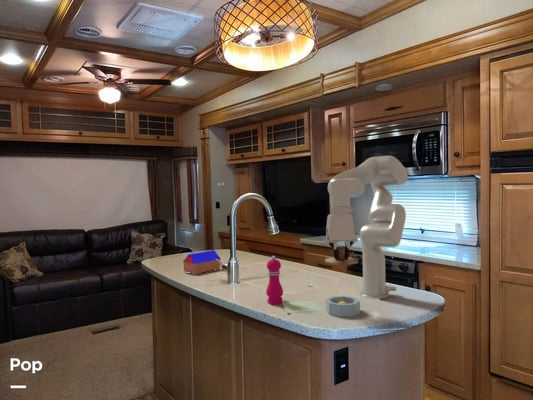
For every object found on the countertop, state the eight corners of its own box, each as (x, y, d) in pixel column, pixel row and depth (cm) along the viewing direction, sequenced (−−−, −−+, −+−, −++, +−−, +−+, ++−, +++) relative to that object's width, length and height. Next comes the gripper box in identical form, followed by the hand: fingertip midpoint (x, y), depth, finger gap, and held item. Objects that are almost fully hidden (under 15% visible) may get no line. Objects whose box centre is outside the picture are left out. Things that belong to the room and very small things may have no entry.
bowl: (352, 307, 156) (352, 295, 156) (363, 317, 144) (363, 303, 144) (323, 309, 155) (323, 296, 154) (331, 319, 143) (331, 305, 143)
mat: (314, 301, 165) (314, 300, 165) (323, 311, 152) (323, 310, 151) (282, 303, 164) (282, 302, 164) (287, 314, 150) (287, 312, 150)
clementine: (346, 309, 151) (346, 299, 151) (349, 312, 148) (349, 302, 147) (336, 310, 151) (336, 300, 151) (339, 313, 147) (339, 303, 147)
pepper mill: (273, 305, 161) (271, 257, 161) (263, 302, 167) (261, 255, 167) (286, 302, 165) (285, 255, 165) (276, 299, 171) (275, 253, 171)
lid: (351, 258, 156) (351, 243, 156) (363, 263, 143) (362, 248, 143) (321, 259, 154) (320, 245, 154) (329, 265, 142) (329, 249, 142)
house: (221, 269, 241) (220, 250, 241) (195, 275, 227) (194, 255, 226) (208, 267, 249) (208, 249, 249) (183, 272, 235) (182, 253, 234)
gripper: (357, 209, 153) (358, 256, 154) (316, 211, 151) (317, 258, 152) (364, 210, 146) (365, 259, 146) (321, 212, 144) (322, 261, 144)
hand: (341, 258), depth 149 cm, fingers closed on lid, 3 cm apart
